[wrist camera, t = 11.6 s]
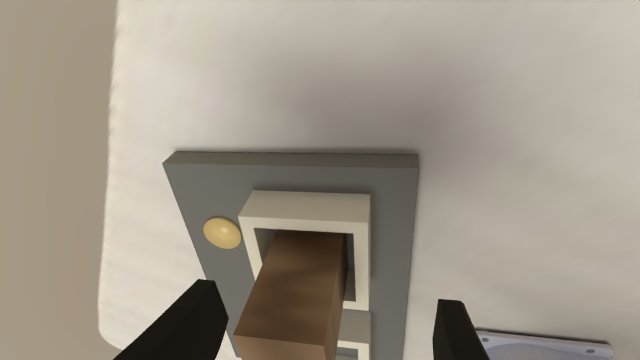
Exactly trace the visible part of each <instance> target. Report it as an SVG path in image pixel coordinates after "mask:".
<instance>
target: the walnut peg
mask: <svg viewBox="0 0 640 360" xmlns="http://www.w3.org/2000/svg"><path fill="white" fill-rule="evenodd" d="M347 273H348V252H347V234H346V233H337V232H320V231H302V230H285V229H277V231H276V233H275V236H274V238H273V241H272V243H271V245H270V248H269V250H268V253H267V255H266V257H265V260H264V262H263V264H262V267H261V269H260V272H259V274H258V276H257V279H256V281H255V283H254V286H253V288H252V291H251V293H250V295H249V298H248V300H247V303H246V305H245V307H244V310H243V312H242V314H241V317H240V319H239V322H238V324H237V326H236V329H235V331H234V333H233V337H234V339H235V342H236V345H237V347H238V350H239V353H240V355H241V358H242V360H335V359H336V352H337V345H338V337H339V330H340V323H341V316H342V309H343V302H344V295H345V288H346V281H347Z"/></svg>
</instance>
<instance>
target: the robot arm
mask: <svg viewBox="0 0 640 360" xmlns="http://www.w3.org/2000/svg"><path fill="white" fill-rule="evenodd" d="M228 320H229V317H228V314H227V312H226V309H225V306H224V304H223V301H222V298H221V296H220V293H219V291H218V288H217V285H216V283H215V281H214V280H202V279H198V280H197V281H196V282H195V283H194V284H193V285H192V286H191V287H190V288H189V289H188V290H187V291H186V292H184V293H183V294H182V295H181V296H180V297H179V298H178V299H177V300H176V301H175V302H174V303H173V304H172V305H171V306H170V307H169V308H168V309H167V310H166V311H165V312H164V313H163V314H162V315H161V316H160V317H159V318H158V319H157V320H156V321H155V322H154V323H152V324H151V325H150V326H149V327H148V328H147V329H146V330H145V331H144V332H143V333H142V334H141V335H140V336H139V337H138V338H137V339H135V340H134V341H133V342H132V343H131V344H130V345H129V346H128V347H126V348H125V349H124V350H123V351H122V352H121V353H120V354H119V355H117V356H116V357H115V358H114V359H113V360H215V358H216V356H217V354H218V351H219V349H220V346H221V343H222V340H223V337H224V334H225V330H226V327H227V324H228ZM613 354H614V350H613V349H612V347H611V346H610V345H607V344H599V343H589V342H580V341H570V340H560V339H551V338H541V337H532V336H522V335H513V334H503V333H493V332H484V331H475V328H474V326H473V324H472V322H471V320H470V317H469V315H468V313H467V310H466V308H465V305H464V304H463V303H462V302H461V301H457V300H444V299H439V300H438V306H437V313H436V320H435V326H434V333H433V355H434V360H611V359H610V358H611V357H612V355H613Z"/></svg>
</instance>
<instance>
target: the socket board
mask: <svg viewBox="0 0 640 360" xmlns="http://www.w3.org/2000/svg"><path fill="white" fill-rule="evenodd" d="M162 164H163V167H164V170H165V172H166V175H167V177H168V180H169V183H170V185H171V188H172V190H173V193H174V196H175V198H176V201H177V203H178V206H179V209H180V211H181V214H182V216H183V219H184V222H185V224H186V227H187V230H188V232H189V235H190V237H191V240H192V243H193V245H194V248H195V250H196V253H197V256H198V258H199V261H200V263H201V266H202V269H203V271H204V274H205V276H206V279H207V280H214V281H215V283H216V285H217V288H218V291H219V293H220V296H221V298H222V301H223V304H224V306H225V309H226V312H227V314H228V317H229V320H228V324H227V327H226V331H227V334H228V336H229V339H230V342H231V344H232V347H233V349H234V352H235V355H236V357H240V358H241V355H240V353H239V350H238V347H237V345H236V342H235V339H234V337H233V333H234V331H235V329H236V326H237V324H238V322H239V319H240V317H241V314H242V312H243V310H244V307H245V305H246V303H247V300H248V298H249V295H250V293H251V291H252V288H253V286H254V283H255V281H256V279H257V276H258V274H259V272H260V269H261V267H262V264H263V262H264V260H265V257H266V255H267V253H268V250H269V248H270V245H271V243H272V241H273V238H274V236H275V233H276V231H277V229H285V230H302V231H320V232H337V233H346V234H347V252H348V273H347V281H346V288H345V295H344V302H343V309H342V316H341V323H340V330H339V337H338V345H337V352H336V359H335V360H402V356H403V344H404V333H405V322H406V310H407V299H408V287H409V276H410V265H411V253H412V242H413V230H414V219H415V207H416V196H417V185H418V173H419V165H418V157H417V155H404V154H322V153H239V152H174V153H173V154H172V155H171V156H170V157H169V158H168V159H167V160H165V161H164V162H163V163H162Z"/></svg>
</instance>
